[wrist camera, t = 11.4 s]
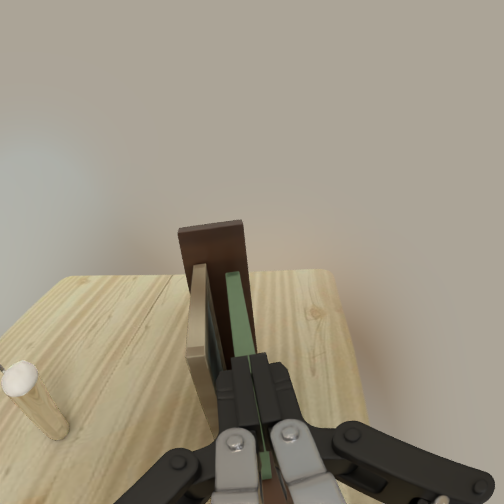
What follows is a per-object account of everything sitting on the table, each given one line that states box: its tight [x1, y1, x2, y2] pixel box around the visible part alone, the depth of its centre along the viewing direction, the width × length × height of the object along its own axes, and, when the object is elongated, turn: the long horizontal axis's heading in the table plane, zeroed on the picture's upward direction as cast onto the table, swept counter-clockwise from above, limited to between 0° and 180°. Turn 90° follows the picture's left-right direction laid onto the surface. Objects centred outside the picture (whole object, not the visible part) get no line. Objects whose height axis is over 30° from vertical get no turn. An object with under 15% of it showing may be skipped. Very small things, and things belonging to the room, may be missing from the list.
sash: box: [225, 271, 272, 480], centre depth 20 cm, size 10×1×13 cm, turn 7°
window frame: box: [178, 220, 286, 504], centre depth 16 cm, size 24×5×17 cm, turn 7°
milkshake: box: [0, 360, 69, 441], centre depth 21 cm, size 5×5×10 cm
